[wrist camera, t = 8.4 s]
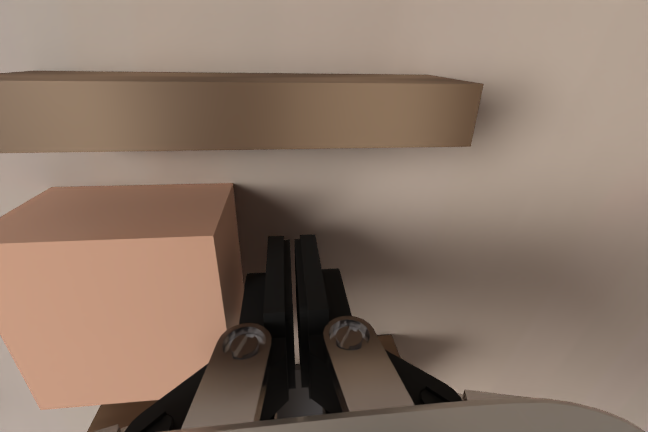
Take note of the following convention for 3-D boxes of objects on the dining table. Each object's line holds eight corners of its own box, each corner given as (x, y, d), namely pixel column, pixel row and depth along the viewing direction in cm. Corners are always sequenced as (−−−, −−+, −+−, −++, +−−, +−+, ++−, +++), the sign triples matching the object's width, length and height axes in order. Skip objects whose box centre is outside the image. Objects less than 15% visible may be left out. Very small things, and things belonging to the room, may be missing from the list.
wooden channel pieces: (426, 74, 11) (483, 83, 8) (375, 450, 20) (392, 522, 17) (32, 71, 10) (-84, 80, 7) (166, 473, 19) (143, 557, 16)
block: (233, 181, 12) (213, 235, 9) (246, 310, 15) (235, 393, 11) (54, 185, 12) (-48, 245, 8) (101, 319, 14) (40, 409, 11)
